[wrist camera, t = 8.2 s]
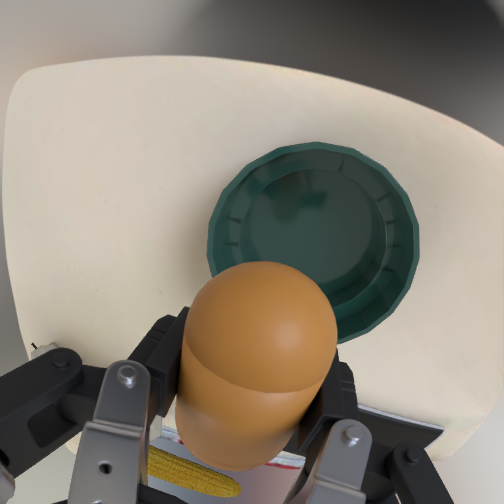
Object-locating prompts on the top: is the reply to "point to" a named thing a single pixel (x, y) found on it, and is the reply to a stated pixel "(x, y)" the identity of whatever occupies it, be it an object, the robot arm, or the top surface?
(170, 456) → the food
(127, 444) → the robot arm
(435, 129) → the top surface
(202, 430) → the bread roll
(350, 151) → the green round bowl
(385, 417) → the smartphone
